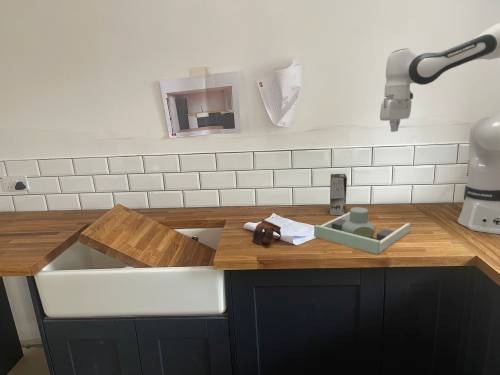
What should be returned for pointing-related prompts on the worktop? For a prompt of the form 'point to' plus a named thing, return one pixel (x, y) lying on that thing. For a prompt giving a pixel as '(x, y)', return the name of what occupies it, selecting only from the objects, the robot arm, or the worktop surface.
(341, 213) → the coffee box
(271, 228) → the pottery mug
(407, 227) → the frame
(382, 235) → the blocks
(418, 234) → the worktop surface
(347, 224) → the air freshener
